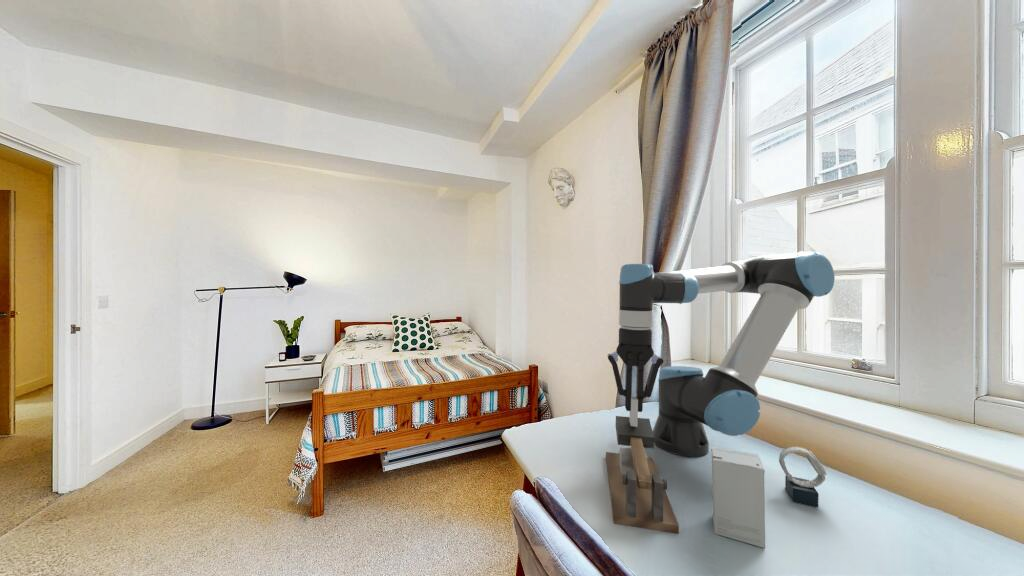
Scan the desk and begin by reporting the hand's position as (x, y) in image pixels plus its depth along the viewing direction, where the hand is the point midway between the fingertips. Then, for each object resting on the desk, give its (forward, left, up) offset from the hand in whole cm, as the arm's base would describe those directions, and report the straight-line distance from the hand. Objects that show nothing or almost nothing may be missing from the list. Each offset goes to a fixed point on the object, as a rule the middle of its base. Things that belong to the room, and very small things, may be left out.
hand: (633, 424), depth 81 cm
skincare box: (-17, +14, -14) cm, 26 cm away
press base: (0, +4, -14) cm, 14 cm away
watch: (-36, -1, -14) cm, 39 cm away
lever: (0, +5, -5) cm, 7 cm away
